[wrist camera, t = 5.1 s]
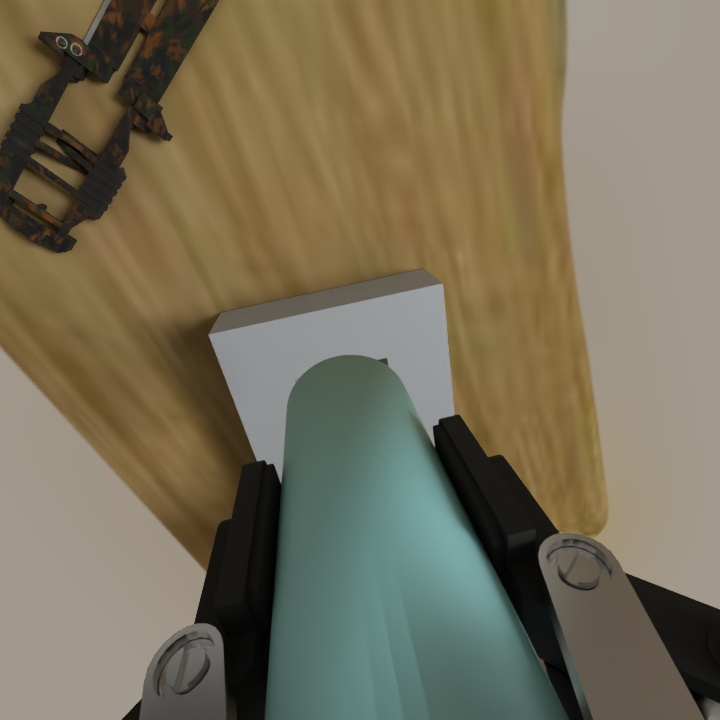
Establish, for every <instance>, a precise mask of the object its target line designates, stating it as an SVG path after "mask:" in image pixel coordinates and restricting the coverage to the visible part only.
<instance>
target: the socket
mask: <svg viewBox="0 0 720 720" xmlns="http://www.w3.org/2000/svg"><path fill="white" fill-rule="evenodd" d="M208 335H209V338H210V340H211V343H212V345H213V348H214V351H215V353H216V356H217V358H218V361H219V364H220V366H221V369H222V371H223V374H224V377H225V379H226V382H227V385H228V387H229V390H230V392H231V395H232V398H233V400H234V403H235V405H236V408H237V411H238V413H239V416H240V418H241V421H242V424H243V426H244V429H245V431H246V434H247V437H248V439H249V442H250V444H251V447H252V450H253V452H254V455H255V458H256V460H257V461H262V460H265V461H266V463H267V465H268V464H274V466H275V468H276V471H277V474H278V477H279V480H280V482H281V483H282V469H283V455H284V441H285V427H286V413H287V402H288V398H289V395H290V393H291V390H292V388H293V386H294V385H295V383H296V382H297V380H298V379H299V378H300V377H301V376H302V375H303V374H304V373H305V372H306V371H307V370H308V369H310V368H311V367H312V366H314V365H316V364H317V363H319V362H321V361H324V360H326V359H329V358H332V357H336V356H341V355H362V356H366V357H370V358H373V359H376V360H379V359H381V362H382V363H384V364H386V365H387V366H389V367H390V368H391V369H392V370H393V371H394V372H395V373H396V374H397V375H398V376H399V378H400V379H401V381H402V383H403V384H404V386H405V388H406V390H407V392H408V394H409V396H410V398H411V400H412V402H413V405H414V407H415V409H416V411H417V413H418V415H419V417H420V419H421V421H422V423H423V425H424V427H425V429H426V431H427V433H428V435H429V437H430V439H431V441H432V443H433V445H434V447H435V443H434V435H433V426H434V425H438V424H439V423H438V422H439V419H441V418H445V417H449V416H454V404H453V392H452V381H451V370H450V359H449V347H448V336H447V325H446V313H445V302H444V291H443V283H442V282H440V281H439V280H438V279H437V278H435V277H434V276H433V275H431V274H430V273H429V272H428V271H426V270H425V269H420V270H416V271H411V272H406V273H402V274H397V275H392V276H388V277H383V278H379V279H374V280H369V281H365V282H360V283H355V284H351V285H346V286H342V287H337V288H332V289H328V290H323V291H318V292H314V293H309V294H305V295H300V296H295V297H291V298H286V299H281V300H277V301H272V302H268V303H263V304H258V305H254V306H249V307H244V308H240V309H235V310H231V311H226V312H221V313H220V315H219V317H218V319H217V320H216V322H215V324H214V326H213V327H212V329H211V331H210V333H209V334H208Z"/></svg>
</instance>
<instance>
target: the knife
mask: <svg viewBox="0 0 720 720" xmlns="http://www.w3.org/2000/svg"><path fill="white" fill-rule="evenodd" d="M218 1H219V0H168V2H167V3H166V5H165V7H164V9H163V10H162V12H161V14H160V16H159V18H158V19H157V18H155V17H154V16H153V15H152V14H151V13H150V11H151V9H152V8H153V6H154V4H155V2H156V0H105V1H104V2H103V4H102V6H101V8H100V10H99V12H98V14H97V16H96V18H95V20H94V22H93V24H92V26H91V28H90V30H89V31H88V33H87V35H86V37H85V39H84V41H83V40H81V39H80V38H78V37H76V36H75V35H73V34H66V33H53V32H40V34H39V36H38V39H40V40H41V41H42V42H43V43H45V44H46V45H47V46H48V47H50V48H51V49H52V50H53V51H55V52H56V53H57V54H58V55H59V56H61V57H63V59H62V61H61V63H60V65H61V66H62V69H61V71H60V73H58V74H57V75H55V76H53V77H52V78H50V79H49V80H47V81H46V82H44V83H43V84H41V85H40V87H39V89H38V91H37V93H36V95H35V97H34V99H33V101H32V103H30V104H21V105H20V107H19V109H20V112H19V113H16V115H15V117H14V118H15V119H16V120H15V122H12V123H11V125H10V127H11V130H10V132H8V131H7V133H6V135H5V136H6V137H7V138H6V140H5V141H4V140H3V141H2V143H1V145H2V148H1V150H0V216H2V217H3V218H4V219H5V220H6V221H7V222H8V223H9V224H10V225H11V226H12V227H13V228H14V229H16V230H17V231H19V232H20V233H22V234H23V235H25V236H26V237H28V238H29V239H31V240H32V241H34V242H35V243H37V244H38V245H43V246H45V247H48V248H50V249H52V250H53V251H55V252H56V253H60V252H67V251H70V250H72V248H73V246H74V245H75V243H76V241H77V240H76V239H74V238H73V237H71V236H70V235H68V233H69V231H70V229H71V228H72V227H74V226H75V225H77V224H79V223H80V222H82V221H84V220H85V219H87V218H91V219H92V220H97V219H100V218H101V216H102V214H103V213H104V211H106V210H107V209H108V207H107V206H108V205H109V204H111V202H112V198H113V196H115V195H116V194H117V192H116V191H117V190H118V189H119V188H120V187H121V186H122V184H121V183H122V181H125V179H126V175H125V171H124V168H119V167H120V165H121V163H122V162H123V160H124V158H125V156H126V155H127V153H128V151H129V135H130V128H134V129H135V128H136V126H137V127H138V128H140V129H141V130H142V131H143V132H147V133H148V132H149V131H150V129H151V130H152V131H154V132H155V133H156V134H157V135H159V136H160V137H161V138H162V139H164V140H165V141H167V140H168V141H170V140H171V138H172V137H173V136H172V135H170V134H169V133H168V131H167V128H166V125H165V122H164V119H163V116H162V114H161V111H162V109H163V108H162V107H161V106H160V105H159V104H158V102H159V101H160V99H161V97H162V96H163V94H164V92H165V91H166V89H167V87H168V85H169V84H170V82H171V80H172V79H173V77H174V75H175V74H176V72H177V70H178V69H179V67H180V65H181V64H182V62H183V60H184V59H185V57H186V55H187V53H188V52H189V50H190V48H191V47H192V45H193V43H194V42H195V40H196V38H197V37H198V35H199V33H200V32H201V30H202V28H203V27H204V25H205V23H206V21H207V20H208V18H209V16H210V15H211V13H212V11H213V10H214V8H215V6H216V5H217V3H218ZM141 27H142V28H143V29H144V30H145V31H146V32H147V33H148V34H149V36H148V37H147V39H146V41H145V43H144V44H143V46H142V48H141V50H140V52H139V53H138V55H137V57H136V59H135V61H134V62H133V64H132V66H131V68H130V69H129V71H128V73H127V75H126V77H125V78H126V81H125V83H124V85H123V86H122V88H121V90H120V92H119V95H120V96H121V97H123V98H124V99H125V100H126V101H128V102H129V103H130V104H131V105H132V106H134V108H135V109H134V108H132V107H131V106H130V107H129V109H128V110H127V112H126V114H125V116H124V117H123V119H122V121H121V123H120V124H119V126H118V128H117V130H116V131H115V133H114V135H113V137H112V138H111V140H110V142H109V143H108V145H107V147H106V149H105V150H104V152H103V154H102V156H101V157H100V159H98V158H97V157H96V156H97V154H95V153H94V152H93V151H91V150H90V149H89V148H87V147H86V146H85V145H83V144H82V143H80V142H79V141H78V140H77V139H75V138H74V137H73V136H71V135H70V134H69V133H67V132H66V131H65V130H63V129H62V131H61V130H59V129H58V128H56V127H55V126H53V125H52V124H51V123H49V122H48V121H49V119H50V117H51V115H52V114H53V112H54V110H55V108H56V106H57V104H58V102H59V100H60V98H61V96H62V94H63V92H64V91H65V89H66V87H67V85H68V83H69V81H70V80H71V81H74V82H76V83H77V82H78V80H79V79H80V80H84V78H85V76H86V75H87V73H88V71H89V70H90V71H91V72H92V73H93V74H94V75H96V76H97V77H98V78H99V79H101V80H102V81H104V82H106V83H108V82H109V80H110V78H111V76H112V75H113V73H114V71H115V70H117V71H118V69H119V67H120V66H121V64H122V62H123V60H124V58H125V56H126V55H127V53H128V51H129V49H130V47H131V46H132V44H133V42H134V40H135V38H136V37H137V35H138V33H139V31H140V29H141ZM45 128H47V129H48V130H50V131H51V132H53V133H54V134H56V135H57V136H59V137H60V138H62V139H63V140H65V141H66V142H68V143H69V144H71V145H72V146H74V147H75V148H77V149H78V150H79V151H81V152H82V153H83V154H84V155H85V156H86V157H87V158H88V159H89V160H91V161H92V162H93V163H94V164H95V165H96V166H95V168H94V167H93V166H92V165H90V164H89V163H88V162H87V161H86V160H85V159H84V158H83V157H82V156H80V155H79V154H78V153H77V152H76V151H75V150H74V149H73V148H72V147H70V146H69V145H68V144H66V143H65V142H63V141H62V140H61V139H59V138H58V139H57V141H56V142H57V143H58V144H59V145H60V146H61V147H62V148H63V149H64V150H66V151H67V152H68V153H69V154H70V155H71V156H72V157H73V158H74V159H75V160H77V161H78V162H79V163H80V164H81V165H82V166H83V167H84V168H83V167H82V166H80V165H79V164H78V163H76V162H75V161H73V160H71V159H70V158H68V157H66V156H65V155H63V154H61V153H60V152H58V151H57V150H55V149H53V148H52V147H50V146H48V145H47V144H45V143H43V142H42V141H40V140H39V138H40V136H43V135H44V134H45V131H44V129H45ZM35 146H38V147H39V148H41V149H43V150H44V151H46V152H48V153H49V154H51V155H53V156H55V157H56V158H58V159H60V160H61V161H63V162H65V163H66V164H68V165H70V166H71V167H73V168H75V169H76V170H78V171H80V172H81V173H83V174H85V175H86V176H87V175H88V173H89V172H90V173H91V175H90V176H87V178H86V180H85V181H86V184H84V185H82V187H81V188H80V189H82V190H81V192H79V191H78V190H77V189H75V188H74V187H72V186H71V185H69V184H68V183H66V182H65V181H64V180H62V179H61V178H59V177H58V176H56V175H55V174H54V173H52V172H51V171H49V170H48V169H46V168H45V167H44V166H42V165H41V164H39V163H38V162H36V161H35V160H34V159H32V158H31V157H30V156H31V154H34V153H35V151H36V149H35ZM26 163H28V164H29V165H31V166H32V167H34V168H35V169H36V170H38V171H39V172H41V173H42V174H44V175H45V176H47V177H48V178H49V179H51V180H52V181H54V182H55V183H57V184H58V185H60V186H61V187H63V188H64V189H65V190H67V191H68V192H70V193H71V194H73V195H74V196H76V197H77V199H76V201H75V203H74V204H73V206H72V208H71V210H70V211H69V213H68V215H67V217H66V218H65V220H64V222H61V221H60V220H58V219H57V218H55V217H54V216H52V215H51V214H49V213H48V212H46V211H45V210H46V208H47V206H46V205H44V204H38V205H36V204H34V203H33V202H31V201H30V200H28V199H27V198H25V197H24V196H22V195H21V194H19V193H18V192H16V191H15V190H13V188H14V186H15V184H16V182H17V181H18V179H19V177H20V175H21V173H22V171H23V169H24V167H25V165H26ZM86 169H87V170H88V171H87V170H86ZM10 196H11V197H12V198H11V197H10ZM13 198H14V199H15V200H17V201H18V202H20V203H21V204H23V205H24V206H26V207H28V208H29V209H31V210H32V211H34V212H35V213H37V214H38V215H40V216H41V217H43V218H44V219H46V220H48V221H49V222H51V223H52V224H54V225H55V226H57V227H58V228H60V229H59V230H58V232H57V233H56V232H55V231H53V230H52V229H50V228H49V227H47V226H45V225H44V224H43V225H42V224H40V223H39V222H37V221H36V220H34V219H33V218H31V217H29V216H28V215H26V214H25V213H23V212H22V211H20V210H19V209H17V208H15V207H14V206H12V205H13V203H14V201H15V200H14V199H13Z"/></svg>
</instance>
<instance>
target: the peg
mask: <svg viewBox="0 0 720 720" xmlns="http://www.w3.org/2000/svg"><path fill="white" fill-rule="evenodd" d="M265 720H569V718H568V716H567V714H566V712H565V710H564V708H563V706H562V704H561V702H560V700H559V698H558V696H557V694H556V692H555V690H554V688H553V686H552V684H551V682H550V680H549V678H548V676H547V674H546V672H545V670H544V668H543V666H542V664H541V661H540V659H539V657H538V655H537V653H536V651H535V649H534V647H533V645H532V643H531V641H530V639H529V637H528V635H527V633H526V631H525V629H524V627H523V625H522V623H521V621H520V619H519V617H518V615H517V613H516V611H515V609H514V607H513V605H512V603H511V601H510V599H509V597H508V595H507V593H506V591H505V589H504V587H503V585H502V583H501V581H500V579H499V577H498V574H497V572H496V570H495V568H494V566H493V564H492V562H491V560H490V558H489V556H488V554H487V552H486V550H485V548H484V546H483V544H482V542H481V540H480V538H479V536H478V534H477V532H476V530H475V528H474V526H473V524H472V522H471V520H470V518H469V516H468V514H467V512H466V510H465V508H464V506H463V504H462V502H461V500H460V498H459V496H458V494H457V492H456V489H455V487H454V485H453V483H452V481H451V479H450V477H449V475H448V473H447V471H446V469H445V467H444V465H443V463H442V461H441V459H440V457H439V455H438V453H437V451H436V449H435V447H434V445H433V443H432V441H431V439H430V437H429V435H428V433H427V431H426V429H425V427H424V425H423V423H422V421H421V419H420V417H419V415H418V413H417V411H416V409H415V407H414V405H413V402H412V400H411V398H410V396H409V394H408V392H407V390H406V388H405V386H404V384H403V383H402V381H401V379H400V378H399V376H398V375H397V374H396V373H395V372H394V371H393V370H392V369H391V368H390V367H389V366H387V365H386V364H384V363H382V362H380V361H378V360H376V359H373V358H370V357H366V356H362V355H341V356H336V357H332V358H329V359H326V360H324V361H321V362H319V363H317V364H316V365H314V366H312V367H311V368H310V369H308V370H307V371H306V372H305V373H304V374H303V375H302V376H301V377H300V378H299V379H298V380H297V382H296V383H295V385H294V386H293V388H292V390H291V393H290V395H289V398H288V402H287V413H286V427H285V441H284V455H283V469H282V483H281V497H280V511H279V525H278V539H277V553H276V567H275V581H274V595H273V609H272V623H271V637H270V651H269V665H268V678H267V692H266V706H265Z"/></svg>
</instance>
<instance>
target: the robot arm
mask: <svg viewBox="0 0 720 720" xmlns="http://www.w3.org/2000/svg"><path fill="white" fill-rule="evenodd" d="M438 423H439V424H438V425H434V426H433V435H434V443H435V449H436V451H437V453H438V455H439V457H440V459H441V461H442V463H443V465H444V467H445V469H446V471H447V473H448V475H449V477H450V479H451V481H452V483H453V485H454V487H455V489H456V492H457V494H458V496H459V498H460V500H461V502H462V504H463V506H464V508H465V510H466V512H467V514H468V516H469V518H470V520H471V522H472V524H473V526H474V528H475V530H476V532H477V534H478V536H479V538H480V540H481V542H482V544H483V546H484V548H485V550H486V552H487V554H488V556H489V558H490V560H491V562H492V564H493V566H494V568H495V570H496V572H497V574H498V577H499V579H500V581H501V583H502V585H503V587H504V589H505V591H506V593H507V595H508V597H509V599H510V601H511V603H512V605H513V607H514V609H515V611H516V613H517V615H518V617H519V619H520V621H521V623H522V625H523V627H524V629H525V631H526V633H527V635H528V637H529V639H530V641H531V643H532V645H533V647H534V649H535V651H536V653H537V655H538V657H539V659H540V661H541V664H542V666H543V668H544V670H545V672H546V674H547V676H548V678H549V680H550V682H551V684H552V686H553V688H554V690H555V692H556V694H557V696H558V698H559V700H560V702H561V704H562V706H563V708H564V710H565V712H566V714H567V716H568V718H569V720H720V610H719V609H717V608H714V607H712V606H709V605H707V604H704V603H701V602H699V601H696V600H694V599H691V598H688V597H686V596H683V595H681V594H678V593H676V592H673V591H670V590H668V589H665V588H663V587H660V586H658V585H655V584H652V583H650V582H647V581H645V580H642V579H639V578H637V577H634V576H632V575H629V574H627V573H625V572H624V571H623V569H622V567H621V565H620V563H619V562H618V560H617V559H616V557H615V556H614V555H613V553H612V552H611V551H610V550H608V549H607V548H606V547H605V546H604V545H603V544H601V543H600V542H598V541H596V540H594V539H592V538H590V537H588V536H584V535H581V534H578V533H566V532H565V533H559V532H558V530H557V529H556V528H555V526H554V525H553V524H552V522H551V521H550V520H549V518H548V517H547V515H546V514H545V513H544V511H543V510H542V509H541V507H540V506H539V504H538V503H537V502H536V500H535V499H534V498H533V496H532V495H531V493H530V492H529V491H528V489H527V488H526V487H525V485H524V484H523V482H522V481H521V480H520V478H519V477H518V476H517V474H516V473H515V471H514V470H513V469H512V467H511V466H510V465H509V463H508V462H507V460H506V459H505V458H504V457H503V456H502V455H496V456H492V457H487V455H486V454H485V452H484V451H483V449H482V448H481V446H480V445H479V443H478V442H477V440H476V439H475V437H474V436H473V434H472V433H471V431H470V430H469V428H468V427H467V425H466V424H465V422H464V421H463V419H462V418H461V416H460V415H454V416H449V417H445V418H441V419H439V422H438ZM280 497H281V482H280V480H279V477H278V474H277V471H276V468H275V466H274V464H268V465H267V463H266V461H265V460H262V461H257V462H253V463H249V464H245V465H243V468H242V472H241V477H240V481H239V486H238V491H237V495H236V500H235V505H234V510H233V514H232V519H229V520H225V521H222V522H221V523H220V524H219V526H218V529H217V533H216V537H215V541H214V545H213V549H212V553H211V558H210V562H209V566H208V570H207V574H206V578H205V582H204V586H203V590H202V594H201V598H200V602H199V606H198V610H197V614H196V619H195V623H194V625H191V626H187V627H185V628H183V629H182V630H180V631H178V632H177V633H175V634H174V635H173V636H172V637H171V638H169V639H168V640H167V641H166V642H165V643H164V644H163V645H162V646H161V648H160V649H159V650H158V652H157V653H156V654H155V655H154V657H153V659H152V661H151V663H150V665H149V667H148V669H147V673H146V677H145V681H144V686H143V694H142V699H141V700H140V701H139V702H138V703H137V704H136V705H135V706H134V707H133V708H132V709H131V710H130V712H129V713H128V714H127V715H126V716H125V717H124V718H123V719H122V720H265V706H266V692H267V678H268V665H269V651H270V637H271V623H272V609H273V595H274V581H275V567H276V553H277V539H278V525H279V511H280Z"/></svg>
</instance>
